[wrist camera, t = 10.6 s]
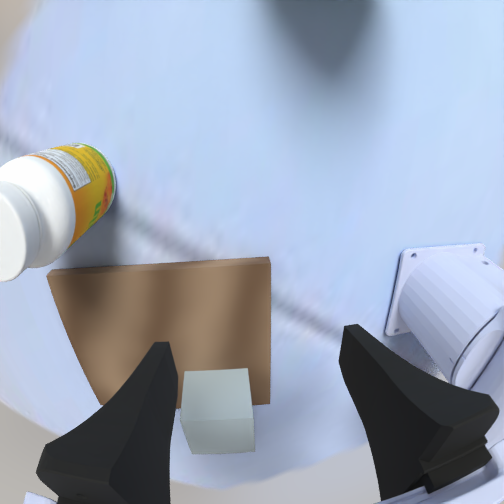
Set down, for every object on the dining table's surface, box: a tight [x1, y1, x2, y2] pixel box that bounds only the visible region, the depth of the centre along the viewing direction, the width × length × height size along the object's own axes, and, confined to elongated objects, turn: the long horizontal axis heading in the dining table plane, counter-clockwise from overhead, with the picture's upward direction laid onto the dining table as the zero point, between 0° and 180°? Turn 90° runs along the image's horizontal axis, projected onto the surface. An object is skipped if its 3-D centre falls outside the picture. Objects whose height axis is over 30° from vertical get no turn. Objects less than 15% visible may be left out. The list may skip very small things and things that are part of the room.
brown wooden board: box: [47, 257, 271, 408], centre depth 23 cm, size 16×14×1 cm
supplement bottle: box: [0, 143, 116, 282], centre depth 13 cm, size 5×5×10 cm
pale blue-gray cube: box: [180, 368, 255, 454], centre depth 22 cm, size 5×5×5 cm
